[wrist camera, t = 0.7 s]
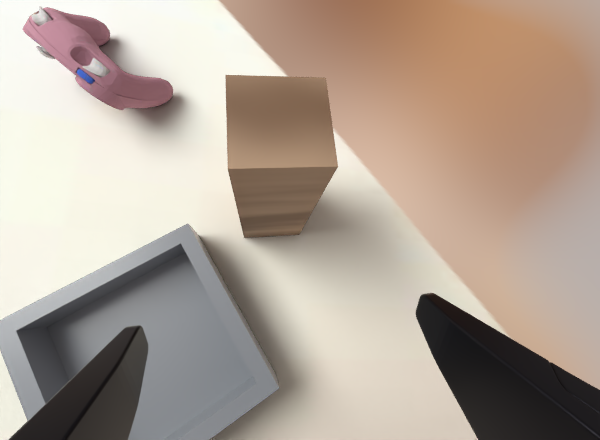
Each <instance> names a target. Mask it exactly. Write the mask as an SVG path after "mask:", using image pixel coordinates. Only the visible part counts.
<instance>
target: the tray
mask: <svg viewBox="0 0 600 440" xmlns="http://www.w3.org/2000/svg"><path fill="white" fill-rule="evenodd" d="M136 325H141V326H142V327H143V330H144V333H145V336H146V339H147V342H148V355H147V361H146V366H145V371H144V377H143V382H142V388H141V393H140V398H139V403H138V407H137V411H136V414H135V418H134V421H133V424H132V428H131V431H130V434H129V438H128V440H210V439H211V438H212V437H214V436H215V435H216V434H218V433H219V432H221V431H222V430H223V429H225V428H226V427H227V426H229V425H230V424H231V423H233V422H234V421H236V420H237V419H238V418H240V417H241V416H242V415H244V414H245V413H246V412H248V411H249V410H251V409H252V408H253V407H255V406H256V405H257V404H259V403H260V402H261V401H263V400H264V399H266V398H267V397H268V396H270V395H271V394H272V393H274V392H275V391H276V390H278V389H279V385H278V381H277V376H276V374H275V372H274V370H273V368H272V366H271V365H270V363H269V361H268V359H267V357H266V356H265V354H264V352H263V350H262V348H261V347H260V345H259V343H258V341H257V339H256V338H255V336H254V334H253V332H252V330H251V329H250V327H249V325H248V323H247V321H246V320H245V318H244V316H243V314H242V312H241V311H240V309H239V307H238V305H237V303H236V302H235V300H234V298H233V296H232V294H231V293H230V291H229V289H228V287H227V285H226V284H225V282H224V280H223V278H222V277H221V275H220V273H219V271H218V269H217V268H216V266H215V264H214V262H213V260H212V259H211V257H210V255H209V253H208V251H207V250H206V248H205V246H204V244H203V242H202V241H201V239H200V237H199V235H198V234H197V233H196V232H195V231H194V230H193V228H192V227H191V226H190V225H189V224H186V225H184V226H182V227H180V228H178V229H176V230H174V231H172V232H170V233H168V234H167V235H165V236H163V237H161V238H159V239H157V240H155V241H153V242H151V243H149V244H147V245H145V246H143V247H141V248H139V249H137V250H135V251H133V252H131V253H130V254H128V255H126V256H124V257H122V258H120V259H118V260H116V261H114V262H112V263H110V264H108V265H106V266H104V267H102V268H100V269H98V270H96V271H95V272H93V273H91V274H89V275H87V276H85V277H83V278H81V279H79V280H77V281H75V282H73V283H71V284H69V285H67V286H65V287H63V288H61V289H60V290H58V291H56V292H54V293H52V294H50V295H48V296H46V297H44V298H42V299H40V300H38V301H36V302H34V303H32V304H30V305H28V306H26V307H24V308H23V309H21V310H19V311H17V312H15V313H13V314H11V315H9V316H7V317H5V318H3V319H1V320H0V351H1V353H2V356H3V359H4V361H5V364H6V366H7V369H8V371H9V374H10V377H11V379H12V382H13V384H14V387H15V390H16V392H17V395H18V397H19V400H20V402H21V405H22V408H23V410H24V413H25V415H26V418H27V421H28V420H29V419H30V418H31V417H33V416H34V415H35V414H36V413H37V412H38V411H39V410H40V409H41V408H42V407H43V406H44V405H45V404H46V403H47V402H48V401H49V400H50V399H51V398H52V397H53V396H54V395H55V394H56V393H57V392H58V391H59V390H61V389H62V388H63V387H64V386H65V385H66V384H67V383H68V382H69V381H70V380H71V379H72V378H73V377H74V376H75V375H76V374H77V373H78V372H79V371H80V370H81V369H82V368H83V367H84V366H85V365H86V364H87V363H89V362H90V361H91V360H92V359H93V358H94V357H95V356H96V355H97V354H98V353H99V352H100V351H101V350H102V349H103V348H104V347H105V346H106V345H107V344H108V343H109V342H110V341H111V340H112V339H113V338H114V337H115V336H116V335H118V334H119V333H120V332H121V331H122V330H123V329H124V328H125V327H128V326H136Z"/></svg>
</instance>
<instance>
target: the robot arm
mask: <svg viewBox="0 0 600 440" xmlns="http://www.w3.org/2000/svg"><path fill="white" fill-rule="evenodd" d="M416 317H417V320H418V322H419V325H420V327H421V329H422V332H423V334H424V336H425V339H426V341H427V343H428V346H429V348H430V350H431V353H432V355H433V357H434V359H435V361H436V363H437V365H438V367H439V369H440V371H441V372H442V374H443V376H444V378H445V380H446V382H447V383H448V385H449V387H450V389H451V391H452V392H453V394H454V396H455V398H456V400H457V402H458V403H459V405H460V407H461V409H462V411H463V413H464V414H465V416H466V418H467V420H468V422H469V423H470V425H471V427H472V429H473V431H474V433H475V434H476V436H477V438H478V440H600V390H599V389H597V388H595V387H593V386H591V385H590V384H588V383H586V382H584V381H582V380H581V379H579V378H577V377H575V376H573V375H572V374H570V373H568V372H566V371H565V370H563V369H562V368H560V367H558V366H557V365H555V364H553V363H549V361H548V360H546V359H545V358H543V357H541V356H539V355H538V354H536V353H534V352H533V351H531V350H529V349H528V348H526V347H524V346H522V345H521V344H519V343H517V342H516V341H514V340H512V339H511V338H509V337H507V336H506V335H504V334H502V333H500V332H499V331H497V330H495V329H494V328H492V327H490V326H489V325H487V324H485V323H483V322H482V321H480V320H478V319H477V318H475V317H473V316H472V315H470V314H468V313H466V312H465V311H463V310H461V309H460V308H458V307H456V306H455V305H453V304H451V303H450V302H448V301H446V300H444V299H443V298H441V297H439V296H438V295H436V294H434V293H428V294H422V295H421V296H420V299H419V302H418V306H417V309H416ZM147 355H148V342H147V339H146V336H145V333H144V330H143V327H142V326H141V325H136V326H128V327H125V328H124V329H123V330H122V331H121V332H120V333H119V334H118V335H116V336H115V337H114V338H113V339H112V340H111V341H110V342H109V343H108V344H107V345H106V346H105V347H104V348H103V349H102V350H101V351H100V352H99V353H98V354H97V355H96V356H95V357H94V358H93V359H92V360H91V361H90V362H89V363H87V364H86V365H85V366H84V367H83V368H82V369H81V370H80V371H79V372H78V373H77V374H76V375H75V376H74V377H73V378H72V379H71V380H70V381H69V382H68V383H67V384H66V385H65V386H64V387H63V388H62V389H61V390H59V391H58V392H57V393H56V394H55V395H54V396H53V397H52V398H51V399H50V400H49V401H48V402H47V403H46V404H45V405H44V406H43V407H42V408H41V409H40V410H39V411H38V412H37V413H36V414H35V415H34V416H33V417H31V418H30V419H29V420H28V421H27V422H26V423H25V424H24V425H23V426H22V427H21V428H20V429H19V430H18V431H17V432H16V433H15V434H14V435H13V436H12V437H11V438H10V439H9V440H128V438H129V434H130V431H131V428H132V424H133V421H134V418H135V414H136V411H137V407H138V403H139V398H140V393H141V388H142V382H143V377H144V371H145V366H146V361H147Z"/></svg>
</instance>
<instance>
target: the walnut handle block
mask: <svg viewBox="0 0 600 440" xmlns="http://www.w3.org/2000/svg"><path fill="white" fill-rule="evenodd" d="M226 112H227V153H228V172H229V176H230V180H231V184H232V188H233V193H234V197H235V201H236V205H237V209H238V214H239V218H240V222H241V226H242V231H243V235H244V238H248V237H266V236H283V235H299V234H300V232H301V230H302V229H303V227H304V225H305V223H306V222H307V220H308V218H309V216H310V215H311V213H312V211H313V209H314V208H315V206H316V204H317V202H318V201H319V199H320V197H321V195H322V194H323V192H324V190H325V188H326V187H327V185H328V183H329V181H330V179H331V178H332V176H333V174H334V172H335V171H336V169H337V167H338V164H337V156H336V149H335V142H334V134H333V127H332V120H331V112H330V106H329V98H328V90H327V83H326V78H316V77H280V76H243V75H226Z"/></svg>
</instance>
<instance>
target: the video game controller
mask: <svg viewBox="0 0 600 440" xmlns="http://www.w3.org/2000/svg"><path fill="white" fill-rule="evenodd" d="M39 9H40V11H38V12H36V13H34V14H32V15H31V16H30V17H29V19H28V20H27V22H26V24H25V25H24V27H23V31H24V32H25V33H26V34H27V35H28V36H29V37H31V38H32V39H33V40H34V41H36V42H37V43H38V44H39V45H40V46H41V47H39V46H36V47H37V49H38V50H39V51H40V53H41V54H43V55H44V56H46V57H48V58H51V59H57V60H58V61H59V62H60V63H61V64H63V65H64V66H65V67H66V68H67V69H69V70H70V71H71V72H72V73H74V74H75V75H76V78H75V79H76V81H77V83H78V84H79V85H80V86H81V87H82V88H83V89H84V90H86V91H87V92H88V93H90V94H91V95H93V96H94V97H96V98H97V99H99V100H100V101H102V102H104V103H106V104H108V105H110V106H112V107H114V108H116V109H119V110H123V109H125V108H149V107H155V106H159V105H162V104H164V103H166V102H167V101H169V100H170V99H171V98H172V95H173V88H172V86H171V84H170V83H169V82H168V81H166V80H163V79H161V78H152V77H142V76H135V75H132V74H128V73H126V72H124V71H123V70H122V69H120V68H119V67H118V66H117V65H116V64H115V63H114V62H113V61H112V60H111V59H110V58H109V57H108V56H107V55H105V54H104V53H103V52H102V51H101V50H100V48H99V47H98V46H101V45H104V44H105V43H106V42H107V41H109V39H110V32H109V30H108V28H107V27H106V25H105V24H103V23H102V22H100V21H98V20H97V19H94V18H91V17H86V16H80V15H73V14H68V13H64V12H61V11H58V10H55V9H52V8H48V7H46V8H41V7H40V6H39Z"/></svg>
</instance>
